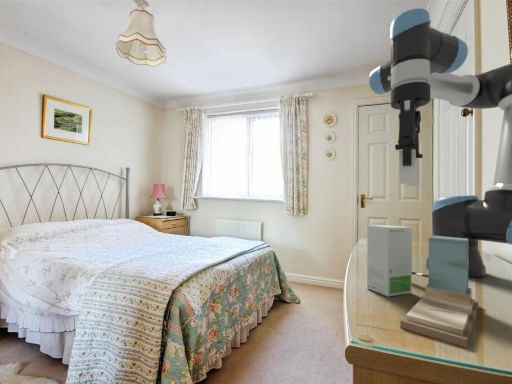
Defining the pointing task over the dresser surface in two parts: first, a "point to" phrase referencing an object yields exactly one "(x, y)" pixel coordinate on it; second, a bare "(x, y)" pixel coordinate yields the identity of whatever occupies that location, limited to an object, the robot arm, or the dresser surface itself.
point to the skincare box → (389, 259)
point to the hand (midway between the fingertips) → (410, 185)
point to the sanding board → (442, 319)
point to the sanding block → (448, 270)
